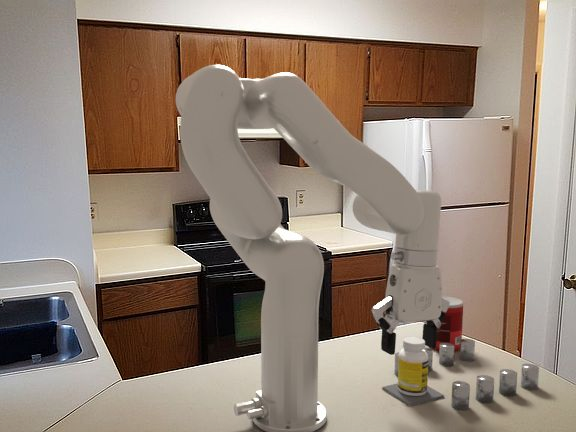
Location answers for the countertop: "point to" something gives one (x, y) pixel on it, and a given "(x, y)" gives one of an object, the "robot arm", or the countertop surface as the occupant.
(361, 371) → the countertop surface
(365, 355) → the countertop surface
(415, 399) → the mat
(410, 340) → the supplement bottle
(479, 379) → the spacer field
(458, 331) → the canned food
